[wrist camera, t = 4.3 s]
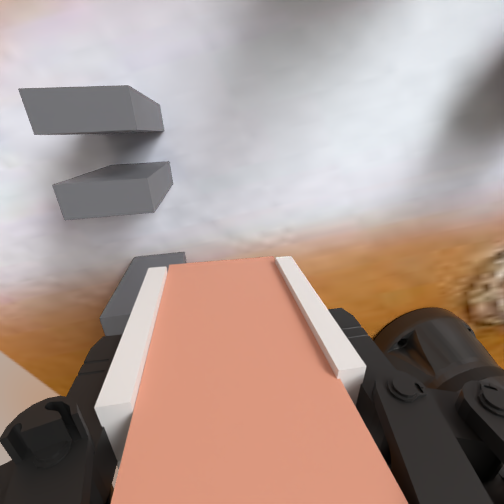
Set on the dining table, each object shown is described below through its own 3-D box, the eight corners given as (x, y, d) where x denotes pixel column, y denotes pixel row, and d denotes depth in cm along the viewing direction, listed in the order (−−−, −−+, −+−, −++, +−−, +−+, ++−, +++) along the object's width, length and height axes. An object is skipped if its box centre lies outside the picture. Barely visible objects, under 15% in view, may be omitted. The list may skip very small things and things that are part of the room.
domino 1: (164, 131, 23) (137, 129, 14) (103, 134, 22) (34, 134, 13) (159, 104, 22) (128, 85, 13) (96, 107, 22) (18, 88, 13)
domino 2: (173, 183, 25) (154, 212, 16) (117, 188, 24) (64, 220, 15) (169, 161, 24) (147, 178, 15) (111, 165, 23) (52, 185, 14)
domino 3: (187, 268, 29) (178, 330, 20) (139, 274, 28) (107, 340, 19) (184, 251, 28) (174, 308, 19) (134, 256, 27) (99, 318, 18)
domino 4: (272, 290, 14) (391, 571, 5) (175, 299, 13) (118, 646, 4) (273, 256, 13) (418, 522, 4) (169, 264, 13) (86, 603, 4)
